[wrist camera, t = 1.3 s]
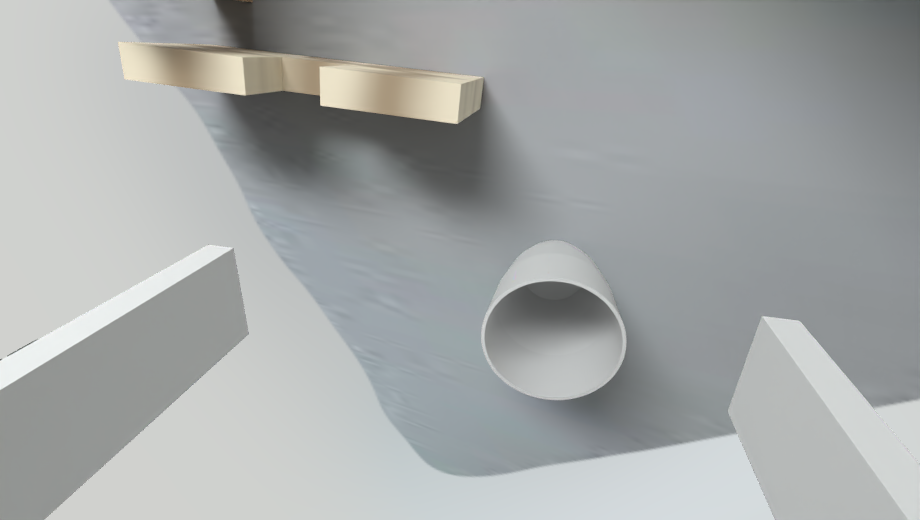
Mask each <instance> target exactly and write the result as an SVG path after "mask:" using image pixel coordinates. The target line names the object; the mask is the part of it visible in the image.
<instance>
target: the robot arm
mask: <svg viewBox="0 0 920 520" xmlns="http://www.w3.org/2000/svg"><path fill="white" fill-rule="evenodd" d="M248 334H249V332H248V327H247V321H246V316H245V311H244V304H243V299H242V293H241V288H240V282H239V276H238V271H237V265H236V260H235V254H234V249H233V248H229V247H220V246H213V245H207V246H205V247H204V248H202V249H200V250H198V251H196V252H194V253H193V254H191V255H189V256H187V257H185V258H184V259H182V260H180V261H178V262H177V263H175V264H173V265H171V266H169V267H168V268H166V269H164V270H162V271H160V272H159V273H157V274H155V275H153V276H151V277H150V278H148V279H146V280H144V281H142V282H141V283H139V284H137V285H135V286H133V287H132V288H130V289H128V290H126V291H124V292H123V293H121V294H119V295H117V296H115V297H114V298H112V299H110V300H108V301H106V302H105V303H103V304H101V305H99V306H97V307H96V308H94V309H92V310H91V311H89V312H87V313H85V314H83V315H81V316H80V317H78V318H76V319H74V320H72V321H71V322H69V323H67V324H65V325H63V326H62V327H60V328H58V329H56V330H55V331H53V332H51V333H49V334H47V335H46V336H44V337H42V338H40V339H37V340H35V341H33V342H31V343H29V344H27V345H26V346H24V347H22V348H20V349H18V350H17V351H15V352H13V353H11V354H10V355H8V356H7V357H6V358H4V359H0V520H44V519H45V518H46V517H48V516H49V515H50V514H51V513H52V512H53V511H54V510H55V509H56V508H57V507H59V506H60V505H61V504H62V503H63V502H64V501H65V500H66V499H67V498H68V497H70V496H71V495H72V494H73V493H74V492H75V491H76V490H77V489H78V488H80V486H82V485H83V484H84V483H85V482H86V481H87V480H88V479H89V478H91V477H92V476H93V475H94V474H95V473H96V472H97V471H98V470H99V469H101V468H102V467H103V466H104V465H105V464H106V463H107V462H108V461H109V460H110V459H111V458H113V457H114V456H115V455H116V454H117V453H118V452H119V451H120V450H121V449H122V448H124V447H125V446H126V445H127V444H128V443H129V442H130V441H131V440H132V439H134V438H135V437H136V436H137V435H138V434H139V433H140V432H141V431H142V430H144V429H145V427H147V426H148V425H149V424H150V423H151V422H152V421H153V420H155V418H157V417H158V416H159V415H160V414H161V413H162V412H163V411H164V410H165V409H167V408H168V407H169V406H170V405H171V404H172V403H173V402H174V401H175V400H176V399H178V398H179V397H180V396H181V395H182V394H183V393H184V392H185V391H186V390H188V389H189V388H190V387H191V386H192V385H193V384H194V383H195V382H196V381H198V380H199V379H200V378H201V377H202V376H203V375H204V374H205V373H206V372H207V371H208V370H210V369H211V368H212V367H213V366H214V365H215V364H216V363H217V362H218V361H220V360H221V359H222V358H223V357H224V356H225V355H226V354H227V353H228V352H229V351H230V350H232V349H233V348H234V347H235V346H236V345H237V344H238V343H239V342H240V341H242V340H243V339H244V338H245V337H246V336H247V335H248ZM728 413H729V416H730V418H731V420H732V423H733V425H734V427H735V429H736V432H737V434H738V436H739V438H740V441H741V443H742V445H743V448H744V450H745V452H746V455H747V457H748V459H749V461H750V464H751V466H752V468H753V471H754V473H755V475H756V477H757V480H758V482H759V484H760V486H761V489H762V491H763V493H764V496H765V498H766V500H767V502H768V505H769V507H770V509H771V511H772V514H773V516H774V518H775V520H920V463H919V462H918V461H917V460H916V458H915V457H914V456H913V455H912V454H911V453H910V451H909V450H908V449H907V448H906V447H905V445H904V444H903V443H902V442H901V441H900V440H899V438H898V437H897V436H896V435H895V434H894V432H893V431H892V430H891V429H890V428H889V426H888V425H887V424H886V423H885V422H884V420H883V419H882V418H881V417H880V416H879V415H878V413H877V412H876V411H875V410H874V409H873V407H872V406H871V405H870V404H869V403H868V401H867V400H866V399H865V398H864V397H863V396H862V394H861V393H860V392H859V391H858V390H857V388H856V387H855V386H854V385H853V384H852V382H851V381H850V380H849V379H848V378H847V377H846V375H845V374H844V373H843V372H842V371H841V369H840V368H839V367H838V366H837V365H836V363H835V362H834V361H833V360H832V359H831V358H830V356H829V355H828V354H827V353H826V352H825V350H824V349H823V348H822V347H821V346H820V344H819V343H818V342H817V341H816V340H815V339H814V337H813V336H812V335H811V334H810V333H809V331H808V330H807V329H806V328H805V327H804V325H803V324H802V323H801V322H800V321H797V320H789V319H781V318H773V317H766V316H762V317H761V320H760V323H759V325H758V328H757V331H756V334H755V337H754V339H753V342H752V345H751V348H750V350H749V353H748V356H747V359H746V362H745V364H744V367H743V370H742V373H741V375H740V378H739V381H738V384H737V387H736V389H735V392H734V395H733V398H732V400H731V403H730V406H729V409H728Z"/></svg>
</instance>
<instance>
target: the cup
mask: <svg viewBox="0 0 920 520" xmlns="http://www.w3.org/2000/svg"><path fill="white" fill-rule="evenodd" d="M481 342H482V348H483V352H484V354H485V357H486V359H487V361H488V363H489V365H490V366H491V368H492V369H493V371H494V372H495V373H496V374H497V375H498V376H499V377H500V378H501V379H502V380H503V381H504V382H505V383H507V384H508V385H509V386H511V387H512V388H514V389H516V390H518V391H520V392H522V393H524V394H527V395H529V396H532V397H536V398H541V399H547V400H567V399H574V398H578V397H582V396H585V395H587V394H590V393H592V392H594V391H596V390H597V389H599V388H601V387H602V386H603V385H605V384H606V383H607V382H608V381H609V380H610V379H611V378H612V377H613V376H614V375H615V374H616V372H617V371H618V369H619V368H620V366H621V364H622V362H623V359H624V356H625V352H626V332H625V328H624V324H623V322H622V319H621V316H620V313H619V311H618V308H617V305H616V302H615V300H614V297H613V294H612V291H611V289H610V287H609V285H608V283H607V281H606V280H605V278H604V277H603V275H602V274H601V272H600V271H599V269H598V268H597V266H596V265H595V263H594V262H593V261H592V259H591V258H590V257H589V256H588V255H587V254H586V253H584V252H583V251H581V250H580V249H578V248H577V247H575V246H573V245H572V244H570V243H567V242H564V241H560V240H548V241H543V242H540V243H538V244H536V245H534V246H533V247H531V248H529V249H527V250H526V251H524V252H523V253H522V254H521V255H519V256H518V257H517V259H516V260H515V261H514V263H513V264H512V265H511V267H510V268H509V269H508V271H507V272H506V273H505V275H504V276H503V278H502V279H501V281H500V282H499V284H498V287H497V289H496V291H495V294H494V296H493V299H492V301H491V303H490V306H489V308H488V311H487V313H486V315H485V318H484V321H483V325H482V330H481Z"/></svg>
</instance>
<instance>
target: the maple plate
mask: <svg viewBox="0 0 920 520" xmlns="http://www.w3.org/2000/svg"><path fill="white" fill-rule="evenodd" d="M118 45H119V51H120V56H121V62H122V67H123V72H124V78H125V79H127V80H134V81H141V82H148V83H157V84H163V85H171V86H178V87H186V88H193V89H201V90H208V91H215V92H223V93H230V94H238V95H245V96H246V95H254V94H262V93H269V92H277V91H289V92H297V93H304V94H312V95H319V96H320V106H327V107H334V108H342V109H349V110H357V111H364V112H372V113H379V114H387V115H394V116H401V117H409V118H416V119H424V120H431V121H439V122H446V123H453V124H458V123H460V122H461V121H463V120H464V119H466V118H467V117H469V116H470V115H471V114H473V113H474V112H476V111H477V110H479V109H480V107H481V98H482V89H483V81H484V77H477V76H468V75H460V74H452V73H443V72H435V71H427V70H418V69H410V68H402V67H393V66H385V65H377V64H368V63H360V62H352V61H343V60H335V59H327V58H318V57H310V56H302V55H293V54H285V53H277V52H268V51H260V50H252V49H243V48H235V47H227V46H218V45H206V44H171V43H137V42H118Z"/></svg>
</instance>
